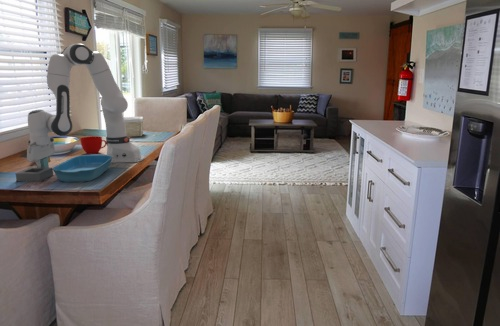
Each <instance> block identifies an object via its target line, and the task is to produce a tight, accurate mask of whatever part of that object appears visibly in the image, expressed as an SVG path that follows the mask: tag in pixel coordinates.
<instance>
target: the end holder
mask: <svg viewBox="0 0 500 326" xmlns="http://www.w3.org/2000/svg"><path fill="white" fill-rule="evenodd" d="M53 168H54V167H49V168H41V167H37V166H35V167H31V166H30V167H28V168H25V169H23V170H20V171H18V172H16V173H15V178H16V182H42V181H45V180H47V179H48V178H50V177H53V176H54V171H53Z"/></svg>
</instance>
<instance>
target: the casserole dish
mask: <svg viewBox="0 0 500 326" xmlns="http://www.w3.org/2000/svg"><path fill="white" fill-rule="evenodd" d="M111 160H112V156H109V155H107V154H101V153H100V154H98V153H97V154H83V155H76V156H73V157H70V158H68V159H66V160H65V161H63V162H61V163H59V164H56V165H55V166H53V167H52V168H53V173H54V174H55V176H56V178H57V179H58V180H59V181H61V182H69V183H70V182H71V183H72V182H73V183H74V182H78V183H79V182H91V181H93V180H95V179H97V178H99V177H100V176H101V175H102V174H104V173H105V172H106V171H107V170H109V168H110V167H111V164H112V163H111Z"/></svg>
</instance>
